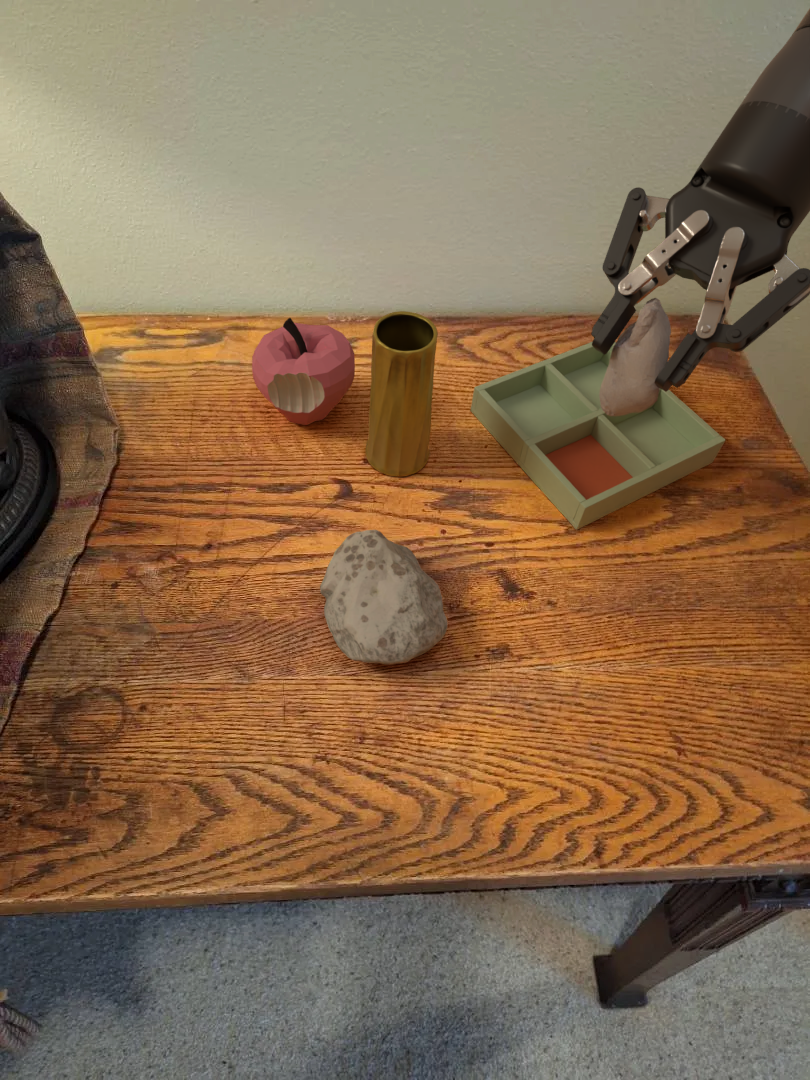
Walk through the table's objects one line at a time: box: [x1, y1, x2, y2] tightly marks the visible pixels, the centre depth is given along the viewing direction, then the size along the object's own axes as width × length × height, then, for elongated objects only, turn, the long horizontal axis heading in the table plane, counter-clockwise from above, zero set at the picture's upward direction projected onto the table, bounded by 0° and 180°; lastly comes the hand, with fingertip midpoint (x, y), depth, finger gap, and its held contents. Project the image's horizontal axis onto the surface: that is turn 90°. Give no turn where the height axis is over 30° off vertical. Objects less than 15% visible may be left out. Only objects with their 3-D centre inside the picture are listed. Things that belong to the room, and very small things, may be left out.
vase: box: [364, 310, 439, 478], centre depth 63 cm, size 6×6×14 cm
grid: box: [470, 341, 726, 531], centre depth 71 cm, size 17×17×3 cm
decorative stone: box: [319, 529, 449, 665], centre depth 57 cm, size 12×11×5 cm
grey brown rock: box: [599, 297, 672, 416], centre depth 52 cm, size 6×4×10 cm, turn 0°
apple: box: [251, 317, 356, 426], centre depth 68 cm, size 10×9×10 cm
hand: (629, 367), depth 51 cm, fingers closed on grey brown rock, 4 cm apart
